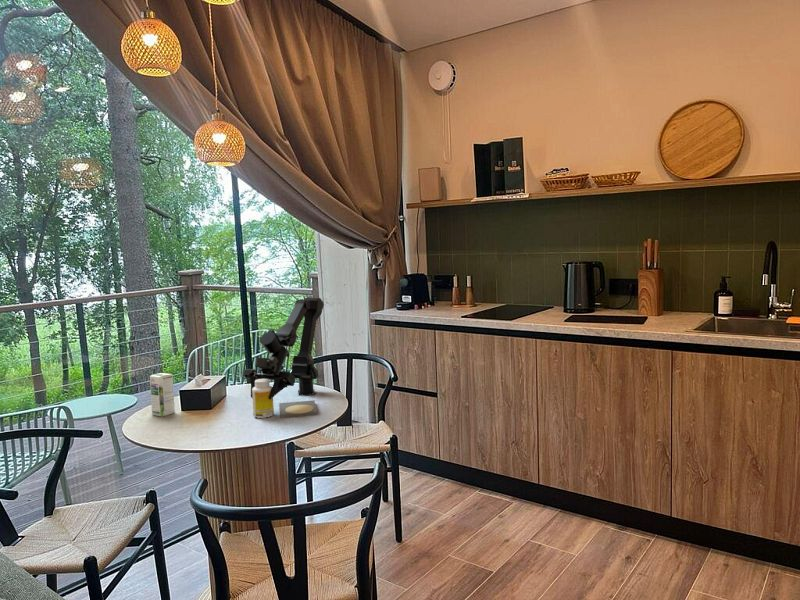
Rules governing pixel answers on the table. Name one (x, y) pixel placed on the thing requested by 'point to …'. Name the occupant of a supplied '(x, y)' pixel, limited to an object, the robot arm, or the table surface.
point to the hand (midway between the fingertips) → (260, 398)
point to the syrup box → (162, 394)
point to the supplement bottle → (262, 399)
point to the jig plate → (297, 408)
